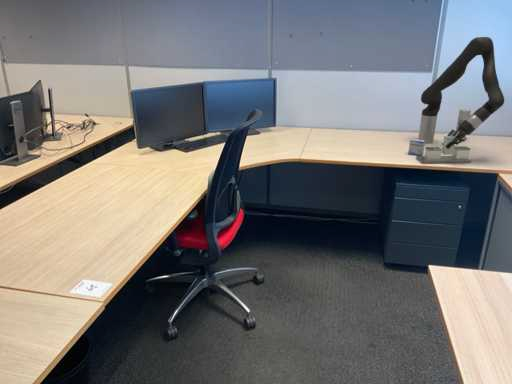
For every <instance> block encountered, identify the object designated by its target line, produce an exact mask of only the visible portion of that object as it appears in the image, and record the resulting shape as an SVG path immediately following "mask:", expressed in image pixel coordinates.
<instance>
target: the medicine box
mask: <svg viewBox="0 0 512 384" xmlns="http://www.w3.org/2000/svg"><path fill="white" fill-rule="evenodd" d="M425 144H426V143H425V140H418V139H417V138H416V139H415V138H410V139H409V145H408V151H407V152H408V153H407V154H408V155H409V156H410V155H411V156H415V157H416V156H423V155H424V153H425V146H426V145H425Z"/></svg>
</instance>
